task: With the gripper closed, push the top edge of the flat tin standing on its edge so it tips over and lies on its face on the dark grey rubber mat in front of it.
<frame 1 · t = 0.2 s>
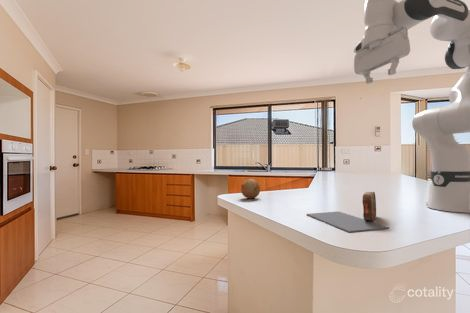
hand: (380, 79, 87), 47 cm above the countertop, fingers open, 8 cm apart
tin: (369, 219, 80), on the countertop, touching rubber mat
rubber mat: (343, 221, 79), on the countertop
onion: (250, 198, 127), on the countertop
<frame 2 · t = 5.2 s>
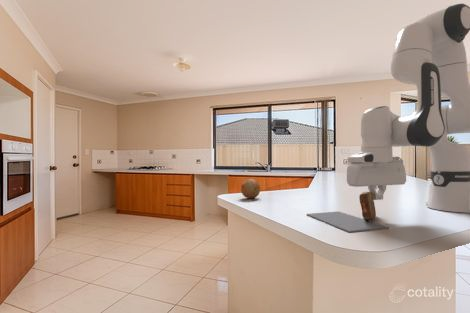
hand: (377, 199, 81), 6 cm above the countertop, fingers closed
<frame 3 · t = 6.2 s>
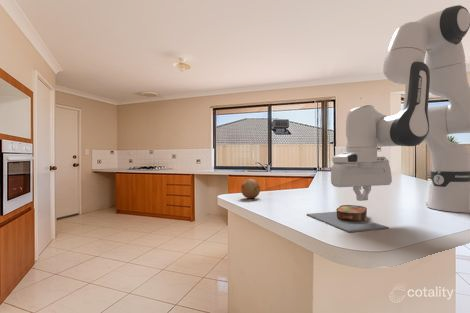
hand: (362, 200, 80), 6 cm above the countertop, fingers closed
tin: (366, 214, 81), point 1 cm above the countertop, touching rubber mat
everything else where it was.
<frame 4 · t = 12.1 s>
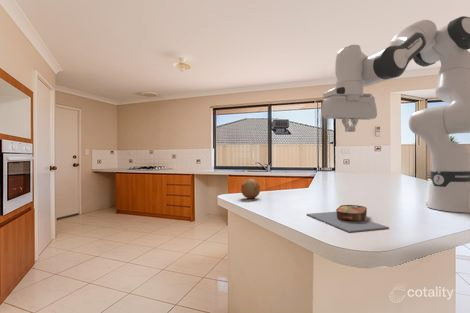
hand: (350, 131, 88), 29 cm above the countertop, fingers closed
nothing on the countertop moved.
at the end: tin tilted 86°; tin touching rubber mat; tin point 1.4 cm above the countertop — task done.
